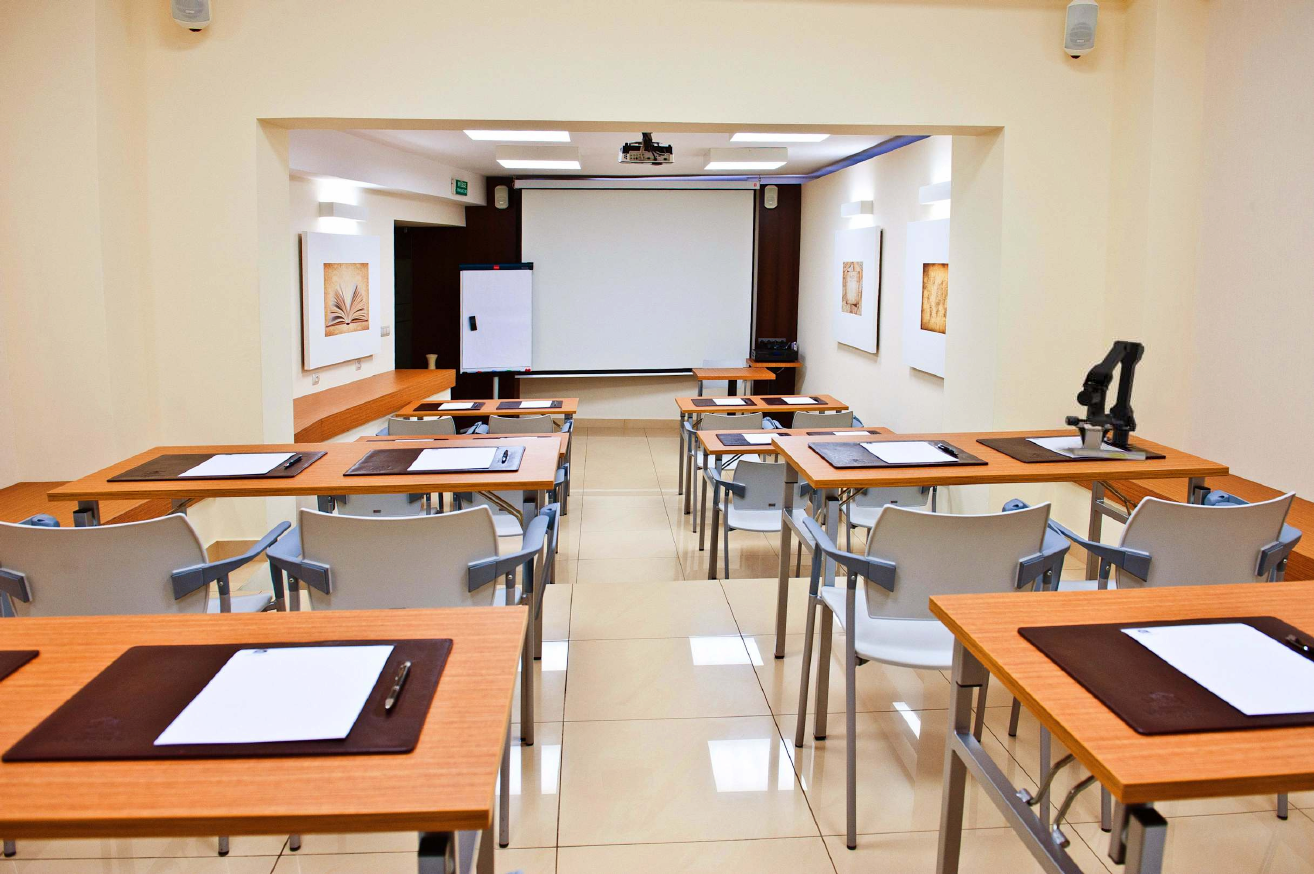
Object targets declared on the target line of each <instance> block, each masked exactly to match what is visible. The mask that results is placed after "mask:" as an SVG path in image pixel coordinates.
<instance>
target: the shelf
mask: <svg viewBox="0 0 1314 874" xmlns="http://www.w3.org/2000/svg"><path fill="white" fill-rule="evenodd" d="M1068 450H1069V451H1070V453H1071V454H1072V455H1074V456H1078V457H1080V456H1081V457H1094V458H1106V459H1108V458H1109V459H1119V460H1132V461H1133V460H1134V461H1145V460H1146V453H1145V452H1141V451H1126V450H1113V449H1112V450H1111V449H1101V448H1100V449H1088V448H1081V447H1068Z"/></svg>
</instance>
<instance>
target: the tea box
mask: <svg viewBox="0 0 1314 874" xmlns="http://www.w3.org/2000/svg"><path fill="white" fill-rule="evenodd" d="M1102 433H1103V432H1102V431H1101V429H1100V428H1096V427H1085V442H1084V445H1082V444H1081V447H1080V448H1088V449H1101V448H1102V444H1101V440H1102Z"/></svg>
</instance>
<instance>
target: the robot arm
mask: <svg viewBox="0 0 1314 874" xmlns="http://www.w3.org/2000/svg"><path fill="white" fill-rule="evenodd" d="M1144 354H1145V346H1144V345H1143V344H1142V342H1137V341H1128V340H1127V341H1126V340H1119V339H1118V340H1115V341H1114V342H1113V345H1112V347H1111V349H1110V350H1109V351H1108V353H1107V354H1106V355H1105V356H1104V358H1103V359H1102V361H1101V362H1100V363H1097V364H1096V365H1095V364H1094V366H1093V367H1092V368H1090V370H1089V371H1088V372H1087V373H1086V374H1087V375H1086V376H1085V379H1084V381H1083V383H1082V388H1083V389H1082V390H1081V391H1079V392H1078V393H1077V395H1076V401H1077V403H1078V404H1079V405H1080V406H1082V407H1087V408H1086V415H1085V418H1080V417H1079V416H1077V415H1067V416H1065V420H1064V421H1065V422H1064V423H1065V425H1067V426H1070V427H1075V429H1077V430H1078V433H1079V436H1080V440H1081V446H1082V445H1084V442H1085V428H1086V426H1085V425H1089V426H1091V428H1096V427H1099V428H1101V429H1100V430H1101V431H1102V432H1103V433H1102V440H1101V445H1102V444H1103V442H1104V440H1105V438H1106V436H1107V435H1108V434H1109V433H1110V432H1111V431H1112V436H1111V441H1109V444H1110V443H1112V444H1115V445H1118V446H1119V445H1120V446H1127V445H1129V439H1130V433H1131V432H1132V433H1133V432H1136V429H1137V427H1138V425H1137V422H1136V420H1135V417H1134V414H1135V413H1134V412H1135V411H1134V410H1133V407H1132V405H1131V400H1132V392H1133V387H1134V379H1135V373H1136V366H1137V365H1138V364H1139V362H1140V361H1142V359H1143V355H1144ZM1119 363H1120V365H1121V367H1120V374H1119V380H1118V387H1117V394H1116V401H1115V403H1114V404H1113V406H1112V407H1111V406H1110V408H1109V410H1108V411H1109V413H1106V399H1107V393H1108V391H1109V390H1110V389H1109V387H1110V385H1111V383H1112V382H1113V379H1114V373H1113V372H1114V371H1115V369H1116V368H1117V367H1118V365H1119Z"/></svg>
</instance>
